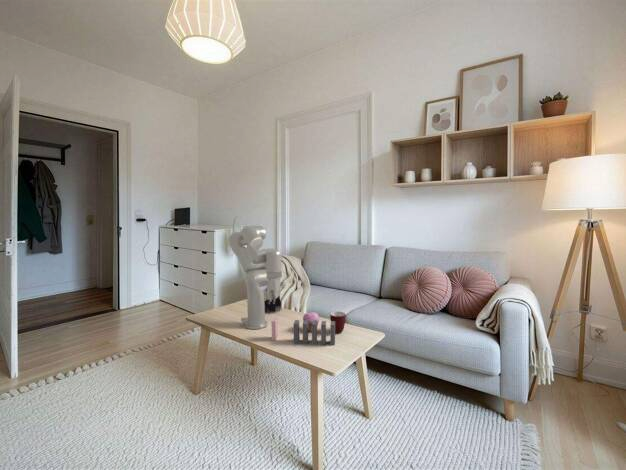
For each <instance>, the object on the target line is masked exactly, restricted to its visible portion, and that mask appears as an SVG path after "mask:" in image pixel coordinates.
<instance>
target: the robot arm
mask: <svg viewBox="0 0 626 470" xmlns="http://www.w3.org/2000/svg"><path fill="white" fill-rule="evenodd" d="M266 237H267V231H266V229H265V227H264V226H262V225H247V226H244V227H242V229H241V230H240V231H236V232H233V233H231V234H230V235H229V238H228V241H229V246H230V250H231V251H232V252H233V253H234V255H235V256H236V257H237V259H238V262H239V264H240V265H241V266H240V267H241V268H242V271H243V272H244V273H245V276H244V282H245V286H246V296H247V297H246V298H247V299H246V300H247V316H246V317H241V318H240V321H241V323H244V327H245V328H247V330H248V329H249V330H259V329H264V328H266V327H267V326H268V321H267V320H266V316H265V315H266V313H265V303H264V301H265V292H264V291H263V290H262V288H261V287H266V298H267V299H269V312H275V311H276V306H280V301H281V292H282V291H281V288H282V287H281V279H282V278H283V277H282V274H283V273H282V252H281V251H280V250H279V249H275V248H262V246H263V245H264V240H265V238H266ZM273 299H274V301H273Z"/></svg>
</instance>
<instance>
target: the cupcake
mask: <svg viewBox="0 0 626 470" xmlns="http://www.w3.org/2000/svg"><path fill="white" fill-rule="evenodd" d="M304 320H308V333H312V322H313V321H317V327H318V325H319V322H320V316H319V314H318V313H317V312H315V311H314V312H313V311H312V312H311V311H308V312H305V314H304V315H303V316H302V321H303V322H304Z"/></svg>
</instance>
